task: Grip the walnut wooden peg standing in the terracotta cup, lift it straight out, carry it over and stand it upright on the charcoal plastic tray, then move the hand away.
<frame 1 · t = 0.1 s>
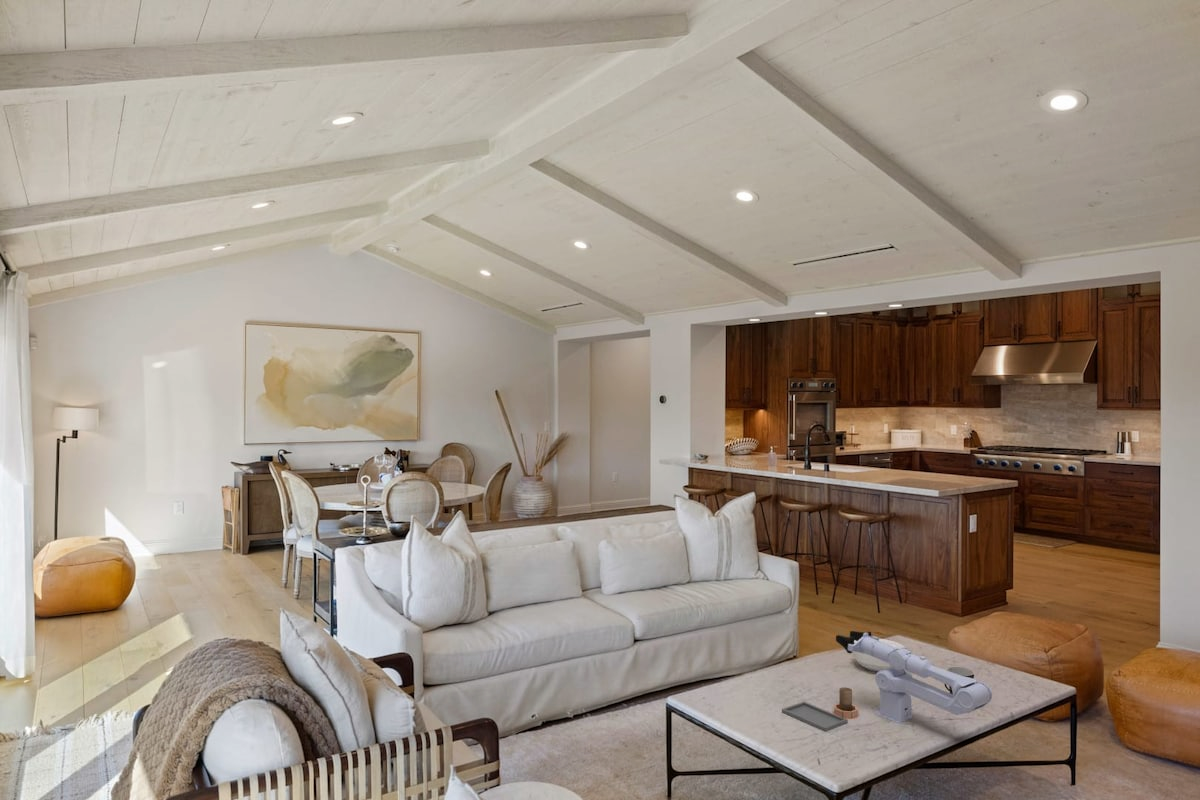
hand: (843, 635, 274), 22 cm above the table, tool horizontal, fingers open, 7 cm apart
walnut peg: (845, 713, 259), resting on terracotta cup
bowl: (878, 668, 303), on the table
coffee mug: (956, 700, 271), on the table
charcoal tray: (814, 718, 256), on the table
terracotta cup: (845, 714, 259), on the table
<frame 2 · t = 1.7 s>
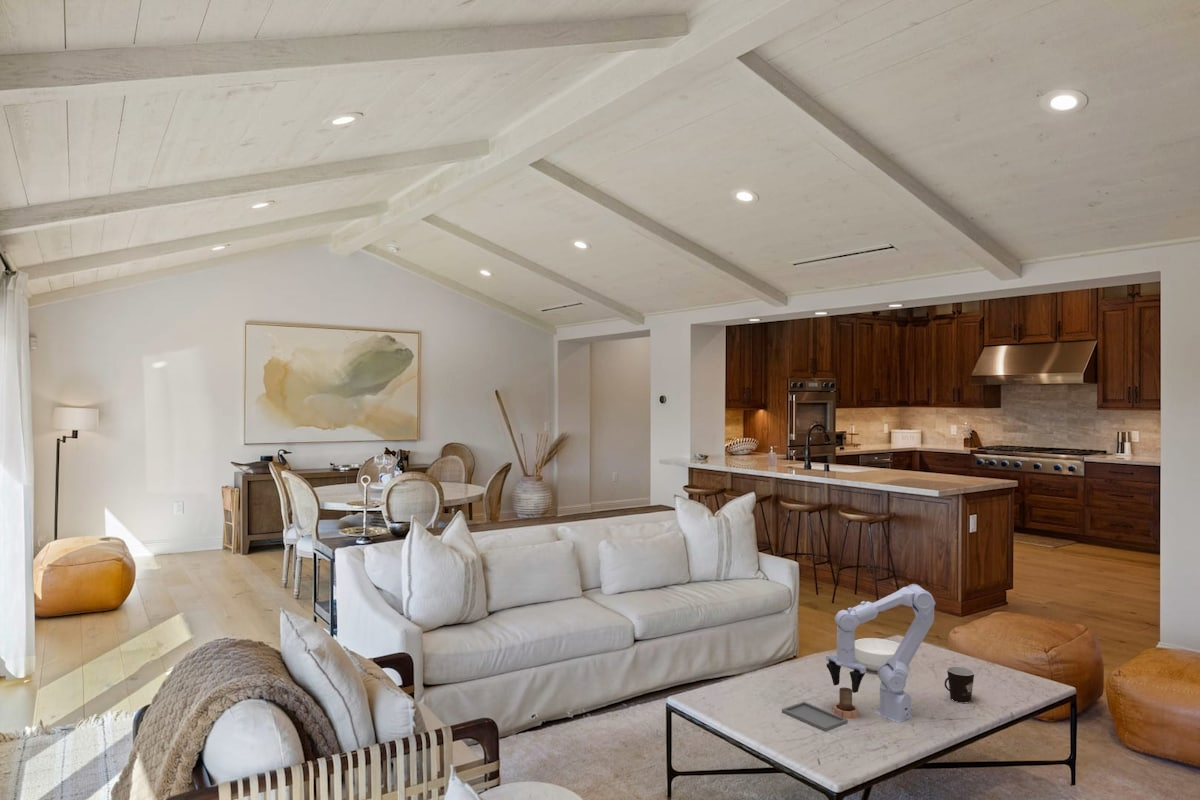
hand: (845, 688, 259), 9 cm above the table, tool pointing down, fingers open, 7 cm apart
nothing on the table moved.
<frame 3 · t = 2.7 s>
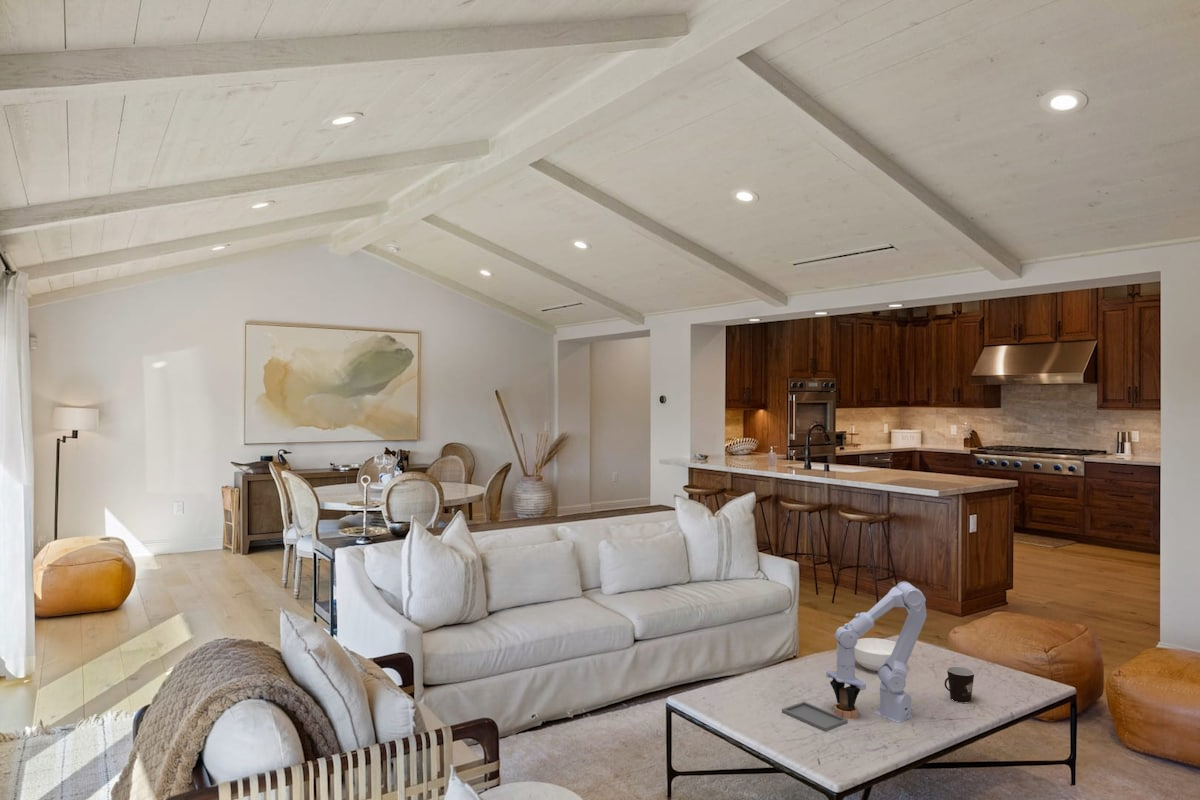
hand: (845, 704, 259), 3 cm above the table, tool pointing down, fingers closed on walnut peg, 4 cm apart
walnut peg: (845, 713, 259), resting on terracotta cup, touching gripper
everything else where it was.
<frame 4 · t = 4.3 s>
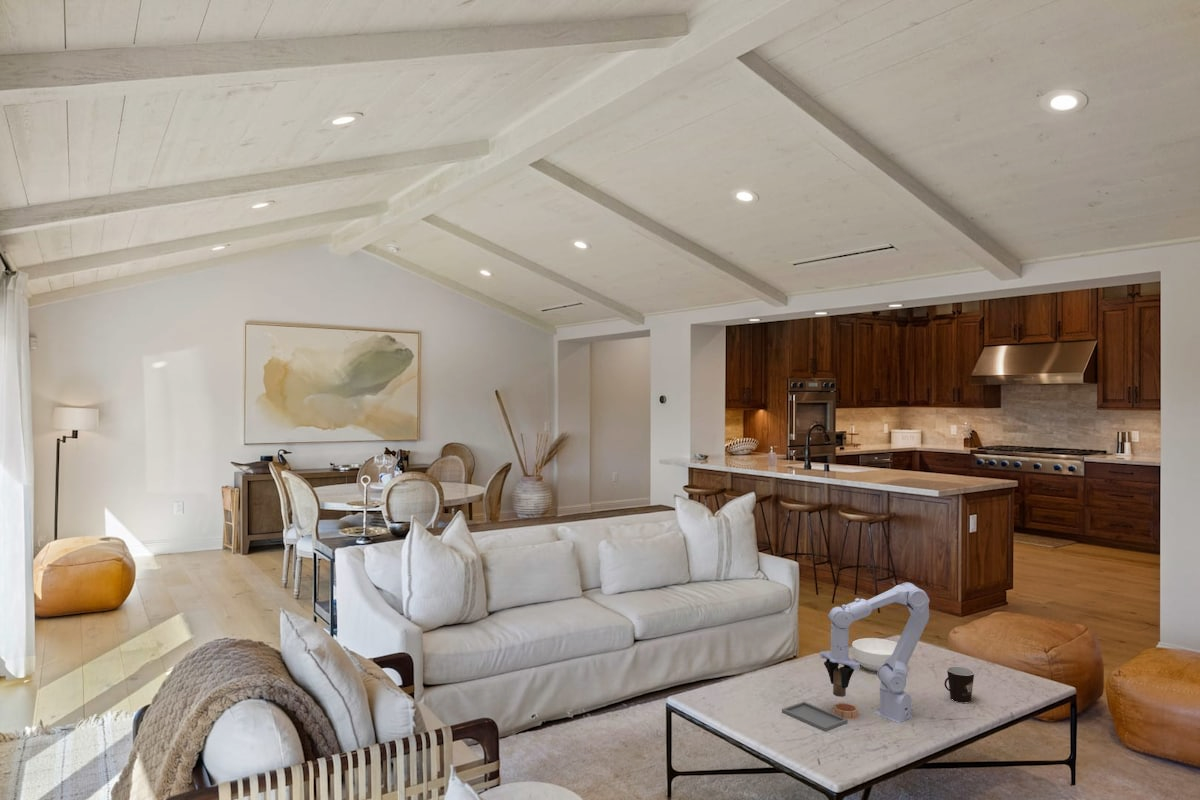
hand: (839, 685, 258), 10 cm above the table, tool pointing down, fingers closed on walnut peg, 4 cm apart
walnut peg: (839, 694, 258), point 7 cm above the table, touching gripper
everything else where it was.
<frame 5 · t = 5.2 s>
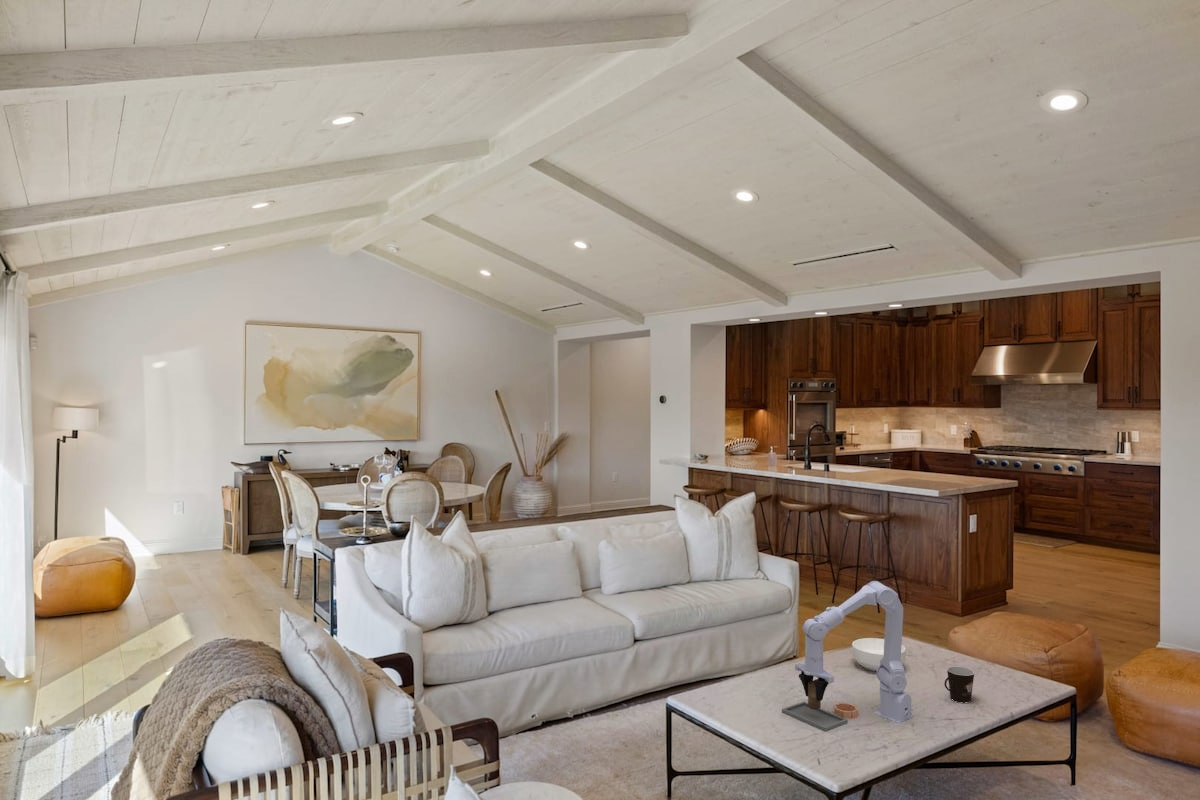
hand: (814, 697, 256), 7 cm above the table, tool pointing down, fingers closed on walnut peg, 4 cm apart
walnut peg: (814, 706, 256), point 4 cm above the table, touching gripper
everything else where it was.
when the fingers open (5 cm above the table, at t = 6.0 s): walnut peg stays where it is, resting on charcoal tray.
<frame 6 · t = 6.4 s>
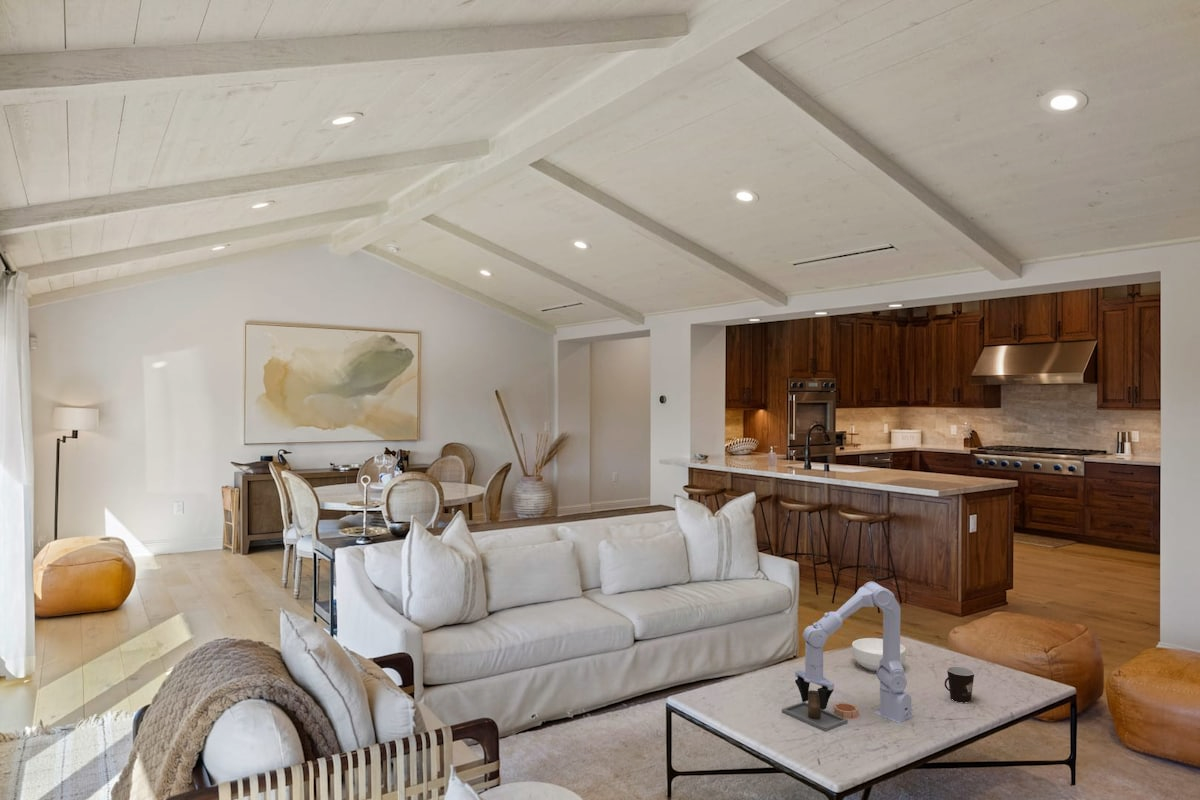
hand: (814, 704, 256), 5 cm above the table, tool pointing down, fingers open, 7 cm apart
walnut peg: (814, 716, 256), point 1 cm above the table, touching charcoal tray
everything else where it was.
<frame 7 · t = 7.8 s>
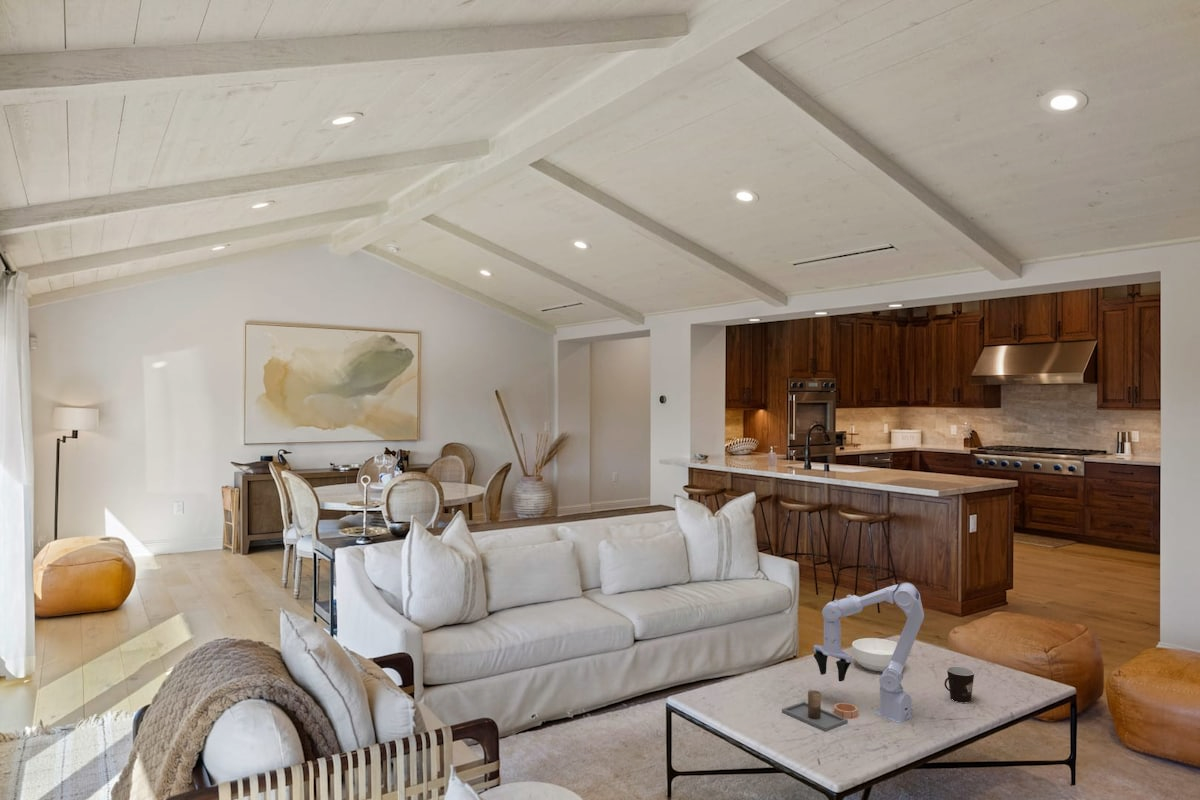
hand: (832, 677, 267), 9 cm above the table, tool pointing down, fingers open, 7 cm apart
nothing on the table moved.
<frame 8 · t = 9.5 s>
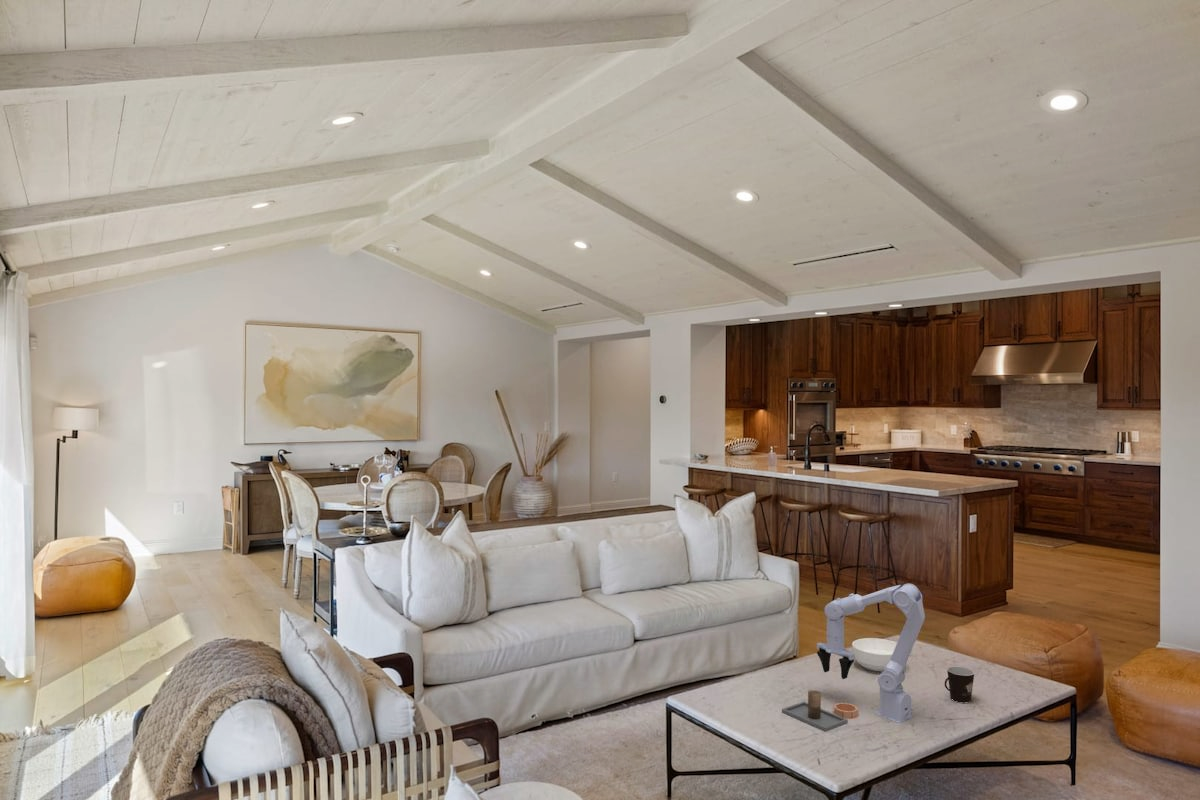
hand: (835, 674, 270), 9 cm above the table, tool pointing down, fingers open, 7 cm apart
nothing on the table moved.
at the end: walnut peg inside the target area on the charcoal tray (0.1 cm from its centre), point 0.6 cm above the charcoal tray's base; walnut peg tilted 0°; the gripper is holding nothing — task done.
